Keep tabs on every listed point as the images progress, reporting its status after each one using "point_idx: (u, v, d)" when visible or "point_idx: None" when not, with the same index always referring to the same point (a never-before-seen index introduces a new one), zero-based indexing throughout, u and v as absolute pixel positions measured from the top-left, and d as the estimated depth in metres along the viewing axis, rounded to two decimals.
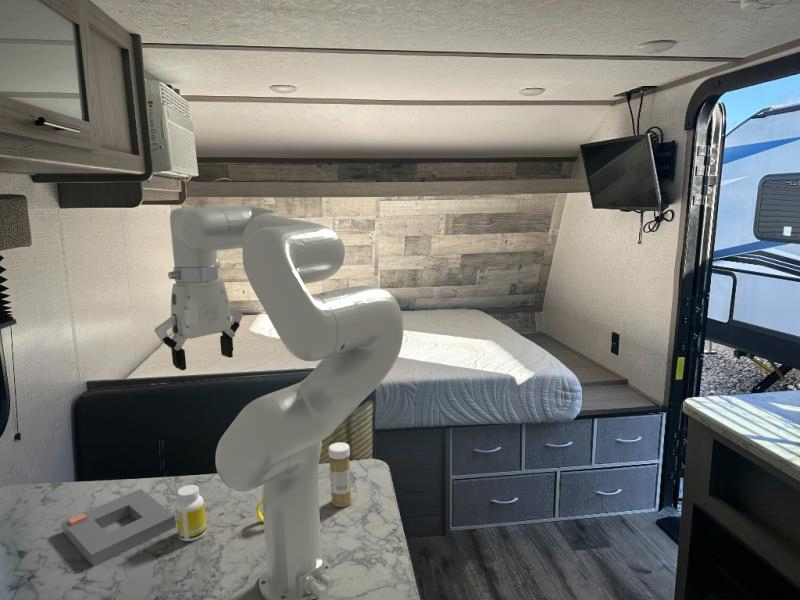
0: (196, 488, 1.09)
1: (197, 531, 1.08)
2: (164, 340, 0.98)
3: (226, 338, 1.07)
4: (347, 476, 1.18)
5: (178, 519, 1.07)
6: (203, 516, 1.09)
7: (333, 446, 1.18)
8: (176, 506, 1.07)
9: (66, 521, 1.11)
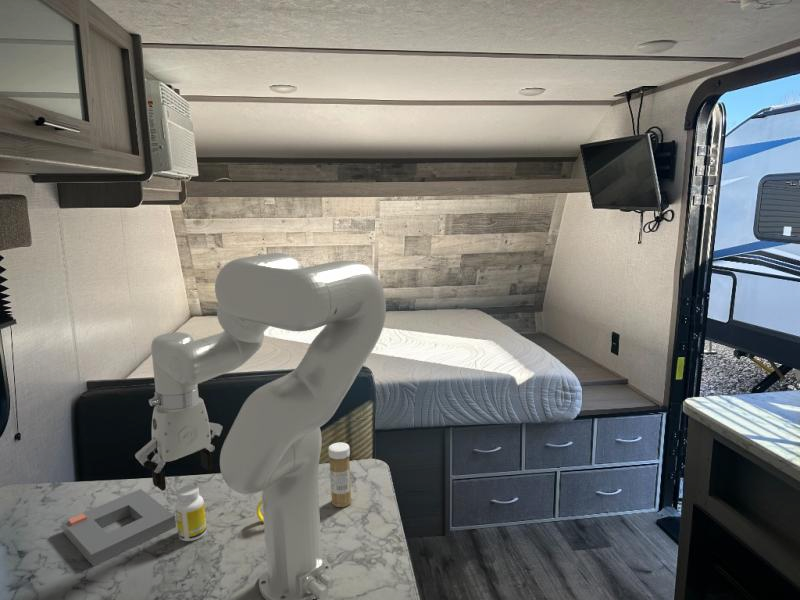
0: (196, 488, 1.09)
1: (197, 531, 1.08)
2: (144, 465, 1.01)
3: (206, 452, 1.10)
4: (347, 476, 1.18)
5: (178, 519, 1.07)
6: (203, 516, 1.09)
7: (333, 446, 1.18)
8: (176, 506, 1.07)
9: (66, 521, 1.11)
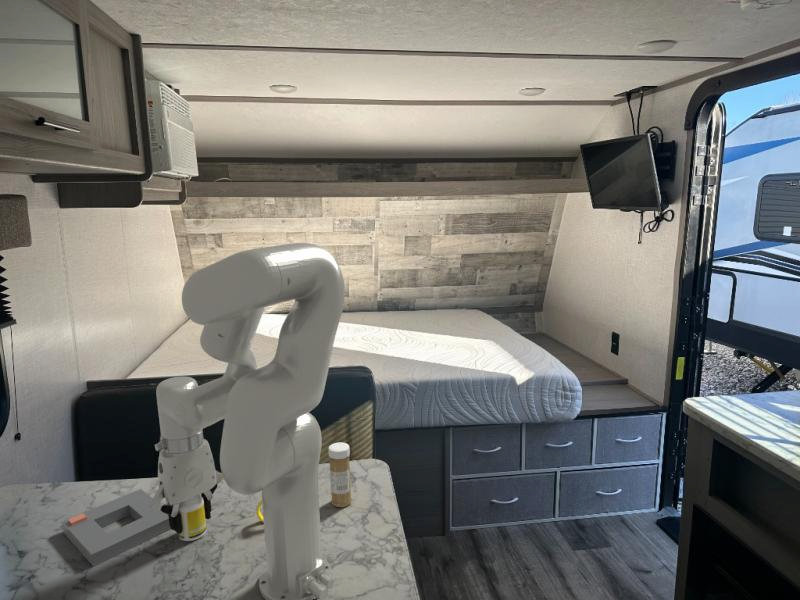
0: None
1: (197, 531, 1.08)
2: (161, 510, 1.04)
3: (204, 501, 1.11)
4: (347, 476, 1.18)
5: None
6: (203, 516, 1.09)
7: (332, 446, 1.18)
8: None
9: (66, 521, 1.11)
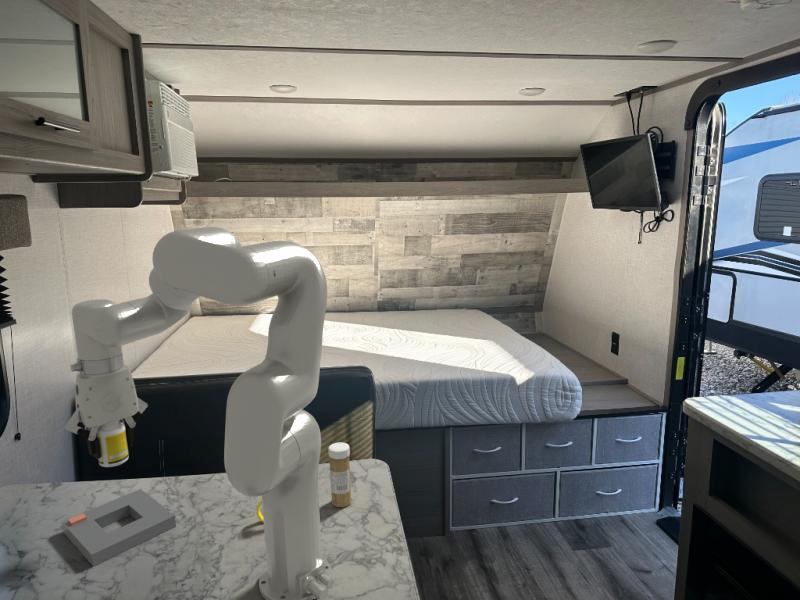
0: None
1: (117, 457, 1.07)
2: (78, 433, 1.03)
3: (126, 429, 1.09)
4: (347, 476, 1.18)
5: None
6: (123, 442, 1.08)
7: (332, 446, 1.18)
8: None
9: (66, 521, 1.11)
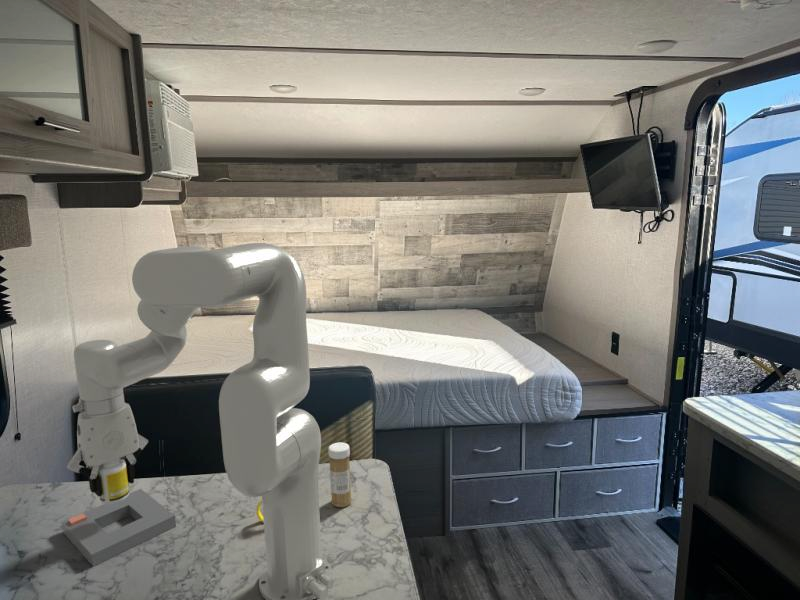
0: None
1: (118, 494, 1.09)
2: (79, 472, 1.04)
3: (127, 465, 1.11)
4: (347, 476, 1.18)
5: None
6: (124, 479, 1.10)
7: (332, 446, 1.18)
8: None
9: (66, 521, 1.11)
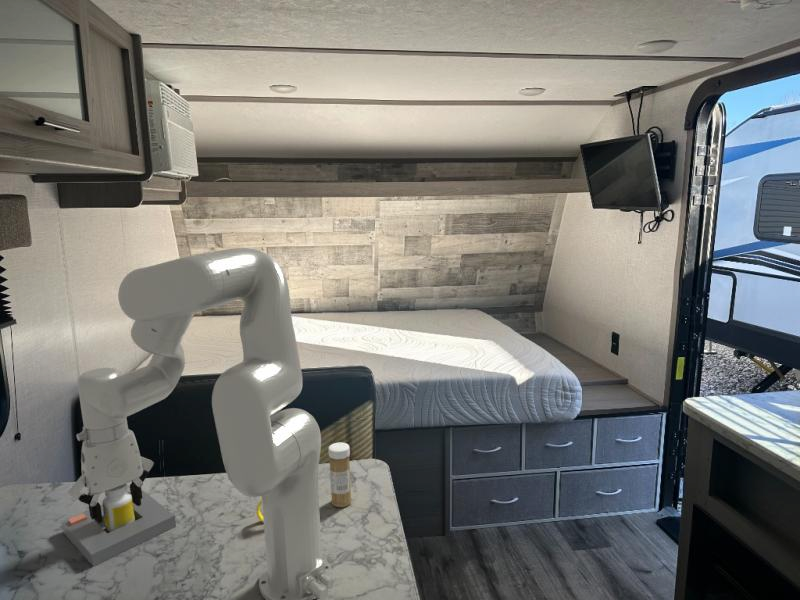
0: (124, 484, 1.11)
1: None
2: (79, 499, 1.05)
3: (134, 488, 1.13)
4: (347, 476, 1.18)
5: (105, 515, 1.09)
6: (130, 512, 1.11)
7: (333, 447, 1.18)
8: (102, 502, 1.09)
9: (66, 521, 1.11)
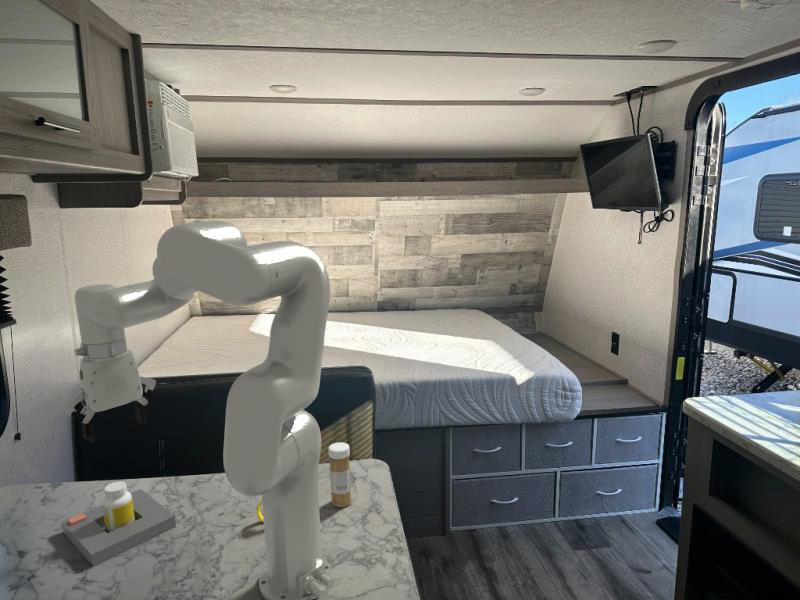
0: (123, 484, 1.11)
1: None
2: (72, 415, 1.02)
3: (139, 406, 1.11)
4: (347, 476, 1.18)
5: (105, 515, 1.09)
6: (130, 512, 1.11)
7: (332, 447, 1.18)
8: (102, 502, 1.09)
9: (66, 521, 1.11)
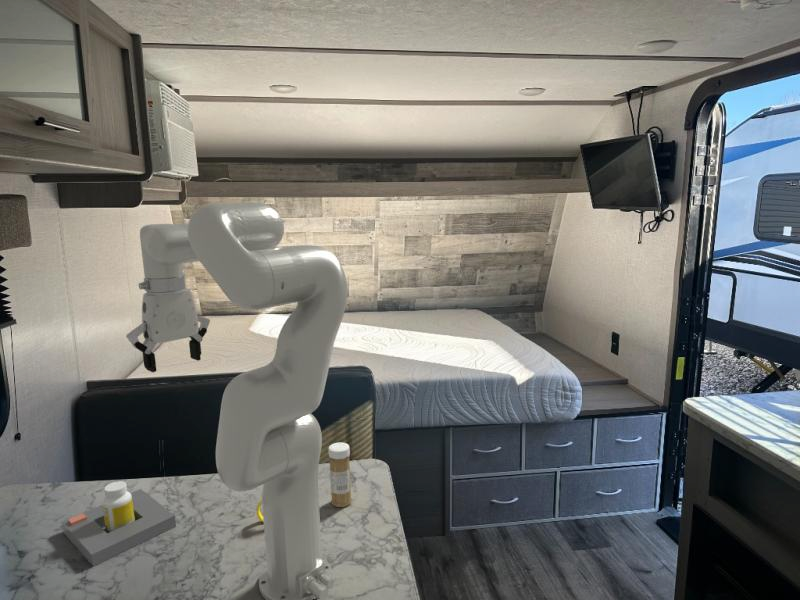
0: (123, 484, 1.11)
1: None
2: (135, 345, 1.08)
3: (194, 342, 1.17)
4: (347, 476, 1.18)
5: (104, 515, 1.09)
6: (130, 512, 1.11)
7: (332, 447, 1.18)
8: (102, 502, 1.09)
9: (66, 521, 1.11)
